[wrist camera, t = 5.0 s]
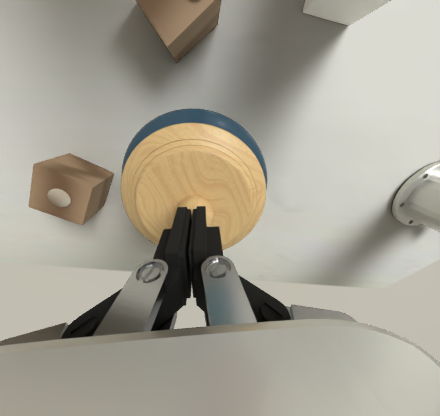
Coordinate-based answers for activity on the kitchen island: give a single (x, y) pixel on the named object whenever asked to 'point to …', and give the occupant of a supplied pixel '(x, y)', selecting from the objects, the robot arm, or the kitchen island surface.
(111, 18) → the kitchen island surface
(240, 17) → the kitchen island surface
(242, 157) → the canister
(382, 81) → the kitchen island surface
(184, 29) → the dotted block
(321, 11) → the milk
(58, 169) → the dotted block
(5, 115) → the kitchen island surface
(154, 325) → the robot arm
